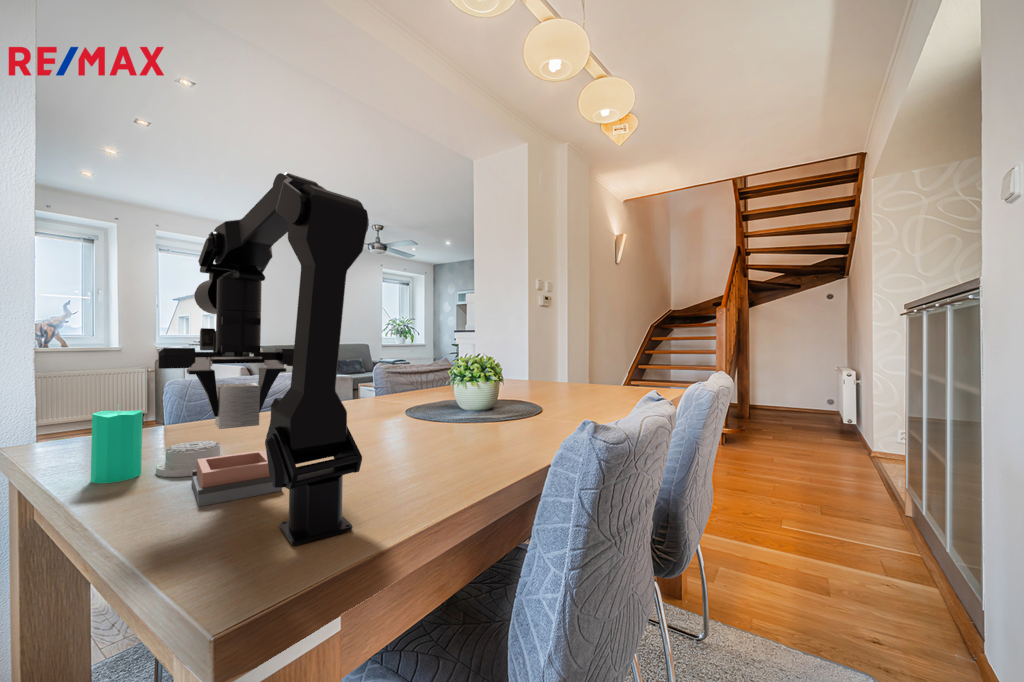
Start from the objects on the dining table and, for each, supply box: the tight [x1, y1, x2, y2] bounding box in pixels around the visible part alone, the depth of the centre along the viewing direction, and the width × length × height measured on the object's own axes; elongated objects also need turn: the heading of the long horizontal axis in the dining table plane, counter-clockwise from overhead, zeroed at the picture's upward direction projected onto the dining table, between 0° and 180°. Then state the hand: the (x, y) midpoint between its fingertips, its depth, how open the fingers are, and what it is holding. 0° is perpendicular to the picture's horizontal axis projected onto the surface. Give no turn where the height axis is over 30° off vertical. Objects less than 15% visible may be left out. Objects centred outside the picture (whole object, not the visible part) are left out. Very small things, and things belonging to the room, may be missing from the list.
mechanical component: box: [155, 440, 224, 478], centre depth 74 cm, size 10×4×10 cm
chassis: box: [191, 450, 283, 507], centre depth 64 cm, size 12×10×4 cm
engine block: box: [214, 382, 260, 430], centre depth 65 cm, size 5×5×6 cm
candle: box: [90, 402, 144, 484], centre depth 68 cm, size 6×6×12 cm
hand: (237, 414), depth 64 cm, fingers closed on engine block, 5 cm apart
